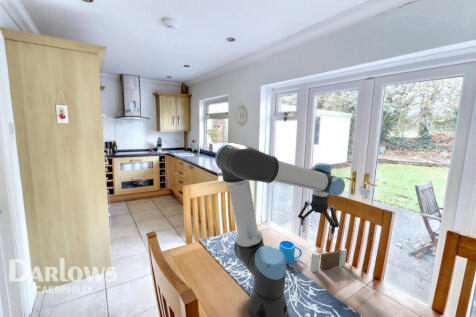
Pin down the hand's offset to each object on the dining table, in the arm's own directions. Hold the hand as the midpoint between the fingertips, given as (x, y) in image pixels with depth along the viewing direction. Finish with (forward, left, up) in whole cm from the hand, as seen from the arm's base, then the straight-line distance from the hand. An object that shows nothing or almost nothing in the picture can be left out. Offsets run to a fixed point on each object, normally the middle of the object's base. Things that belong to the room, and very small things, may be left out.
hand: (316, 235), depth 113 cm
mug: (+8, +9, -17) cm, 21 cm away
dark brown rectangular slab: (-5, -6, -16) cm, 18 cm away
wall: (-4, -6, -17) cm, 18 cm away
